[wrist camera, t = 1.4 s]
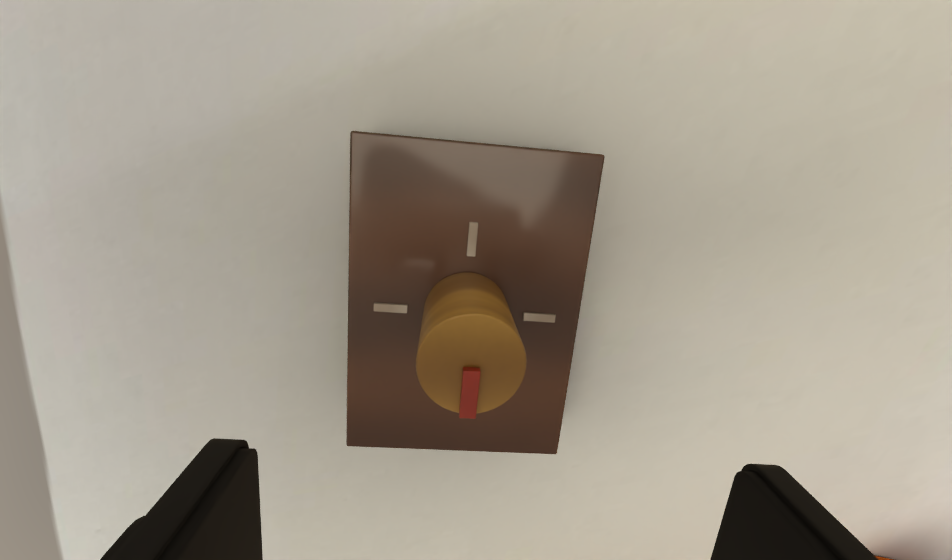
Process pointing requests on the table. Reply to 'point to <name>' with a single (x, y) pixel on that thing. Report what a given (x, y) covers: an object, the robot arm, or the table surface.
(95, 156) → the table surface
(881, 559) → the alarm clock
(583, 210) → the brown dial base
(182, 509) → the robot arm
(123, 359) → the table surface
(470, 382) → the dial knob
